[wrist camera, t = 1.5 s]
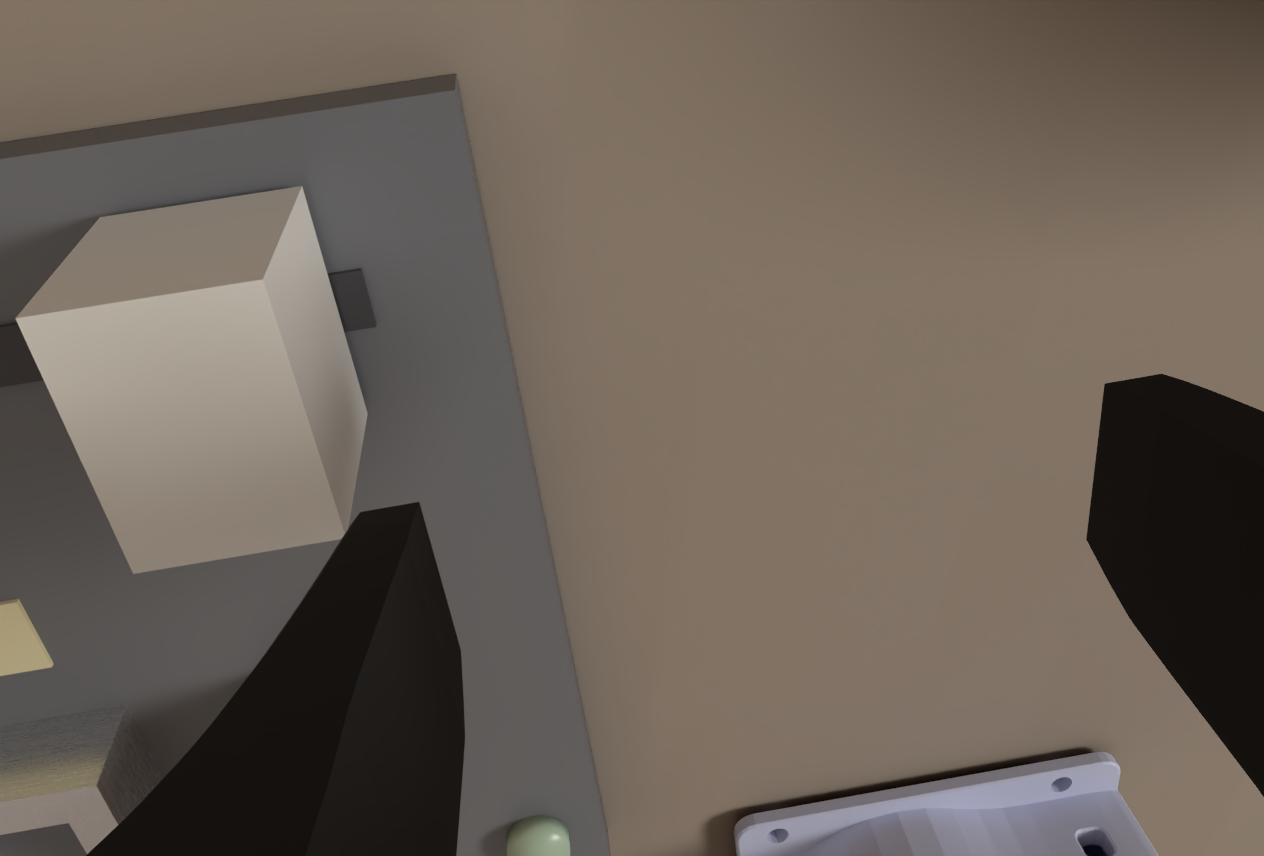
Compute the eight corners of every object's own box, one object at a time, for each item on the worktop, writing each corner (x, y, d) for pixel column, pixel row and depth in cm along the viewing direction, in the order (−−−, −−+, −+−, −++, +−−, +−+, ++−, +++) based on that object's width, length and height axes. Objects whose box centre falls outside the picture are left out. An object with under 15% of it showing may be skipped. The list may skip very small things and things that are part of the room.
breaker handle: (302, 185, 16) (263, 279, 13) (367, 413, 18) (346, 538, 16) (100, 217, 16) (15, 318, 13) (189, 442, 18) (133, 574, 15)
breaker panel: (456, 73, 17) (454, 98, 16) (607, 831, 26) (614, 885, 25) (-610, 235, 16) (-701, 275, 15) (-65, 951, 26) (-94, 1014, 25)
